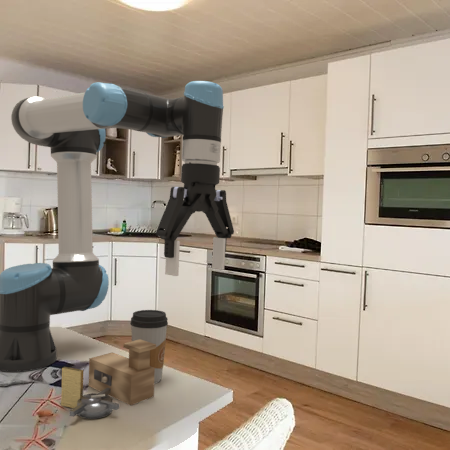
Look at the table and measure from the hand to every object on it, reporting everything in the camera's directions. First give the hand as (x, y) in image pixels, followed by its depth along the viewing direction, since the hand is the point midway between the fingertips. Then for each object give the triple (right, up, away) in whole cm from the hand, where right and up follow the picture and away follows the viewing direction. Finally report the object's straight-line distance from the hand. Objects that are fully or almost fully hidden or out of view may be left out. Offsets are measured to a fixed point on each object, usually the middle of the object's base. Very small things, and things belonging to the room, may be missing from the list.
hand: (196, 272), depth 94 cm
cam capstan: (-20, -26, -4) cm, 33 cm away
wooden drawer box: (-16, -26, +6) cm, 31 cm away
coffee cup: (-12, -26, +13) cm, 31 cm away
